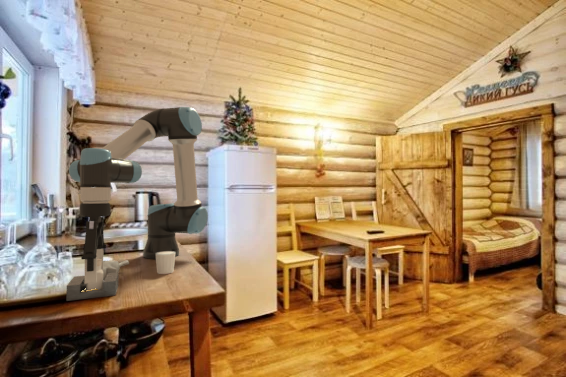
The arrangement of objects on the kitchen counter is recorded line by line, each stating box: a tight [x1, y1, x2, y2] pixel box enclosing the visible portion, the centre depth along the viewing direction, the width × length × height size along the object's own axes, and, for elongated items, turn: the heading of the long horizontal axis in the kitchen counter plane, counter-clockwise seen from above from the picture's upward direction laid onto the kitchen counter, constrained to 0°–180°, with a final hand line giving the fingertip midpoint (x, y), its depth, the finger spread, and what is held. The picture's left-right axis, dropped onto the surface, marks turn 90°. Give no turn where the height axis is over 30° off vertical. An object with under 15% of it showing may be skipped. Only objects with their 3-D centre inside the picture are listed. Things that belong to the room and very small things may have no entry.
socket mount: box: [65, 272, 119, 302], centre depth 88 cm, size 10×12×4 cm
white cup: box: [155, 251, 176, 275], centre depth 111 cm, size 7×7×7 cm
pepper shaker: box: [86, 258, 104, 290], centre depth 88 cm, size 4×4×10 cm
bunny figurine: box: [103, 259, 130, 280], centre depth 105 cm, size 10×5×15 cm
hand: (94, 276), depth 88 cm, fingers open, 13 cm apart
